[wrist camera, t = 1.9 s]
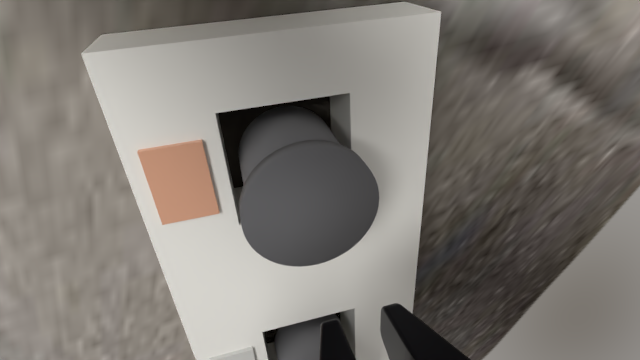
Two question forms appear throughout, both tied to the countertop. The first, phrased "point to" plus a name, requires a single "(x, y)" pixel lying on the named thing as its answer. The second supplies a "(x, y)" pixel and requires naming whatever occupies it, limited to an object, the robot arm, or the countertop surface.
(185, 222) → the panel
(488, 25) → the countertop surface
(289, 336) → the far button
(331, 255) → the near button
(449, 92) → the countertop surface
